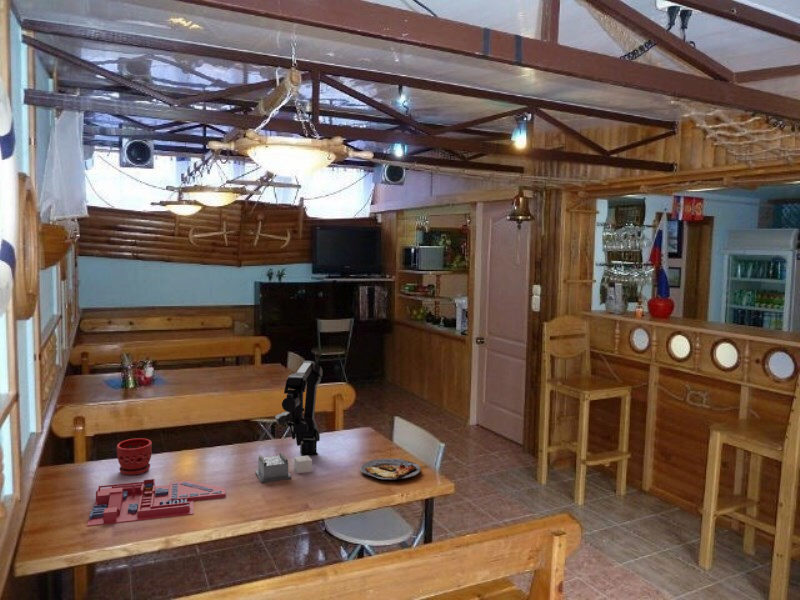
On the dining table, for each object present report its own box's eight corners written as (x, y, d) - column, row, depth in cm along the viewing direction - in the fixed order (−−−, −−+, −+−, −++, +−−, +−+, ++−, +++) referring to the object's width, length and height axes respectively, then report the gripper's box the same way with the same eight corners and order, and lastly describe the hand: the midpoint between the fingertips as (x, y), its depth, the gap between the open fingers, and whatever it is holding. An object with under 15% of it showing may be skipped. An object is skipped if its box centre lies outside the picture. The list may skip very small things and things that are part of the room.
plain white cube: (308, 466, 260) (308, 455, 260) (312, 471, 255) (312, 459, 254) (294, 468, 258) (294, 457, 257) (297, 473, 252) (297, 461, 252)
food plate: (431, 473, 255) (431, 464, 255) (393, 488, 238) (393, 479, 238) (388, 459, 272) (388, 452, 272) (349, 473, 256) (349, 465, 255)
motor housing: (282, 467, 259) (283, 449, 258) (291, 478, 246) (291, 460, 246) (254, 471, 254) (254, 453, 253) (261, 482, 241) (261, 464, 241)
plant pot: (112, 470, 251) (112, 442, 250) (145, 463, 260) (145, 436, 259) (123, 480, 241) (122, 450, 240) (156, 472, 250) (156, 443, 249)
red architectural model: (229, 511, 216) (229, 495, 216) (86, 529, 200) (86, 512, 200) (221, 480, 244) (221, 466, 244) (96, 494, 228) (96, 479, 228)
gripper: (272, 401, 261) (272, 437, 262) (281, 412, 243) (281, 451, 245) (298, 399, 265) (298, 435, 266) (308, 410, 248) (308, 448, 249)
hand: (295, 442), depth 256 cm, fingers open, 9 cm apart
